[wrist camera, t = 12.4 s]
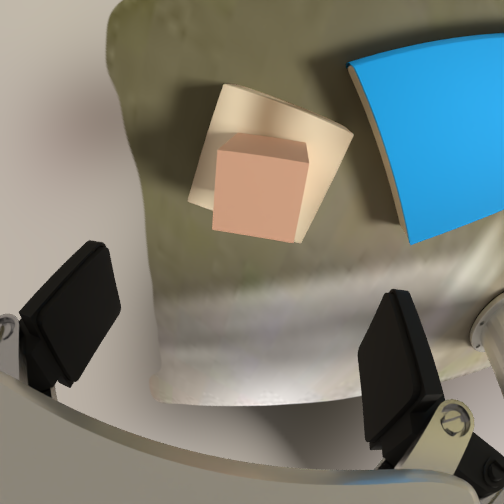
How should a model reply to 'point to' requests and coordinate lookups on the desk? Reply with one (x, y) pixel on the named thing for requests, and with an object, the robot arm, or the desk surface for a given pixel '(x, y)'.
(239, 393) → the desk surface
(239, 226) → the block
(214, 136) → the base
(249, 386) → the desk surface
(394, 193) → the book
